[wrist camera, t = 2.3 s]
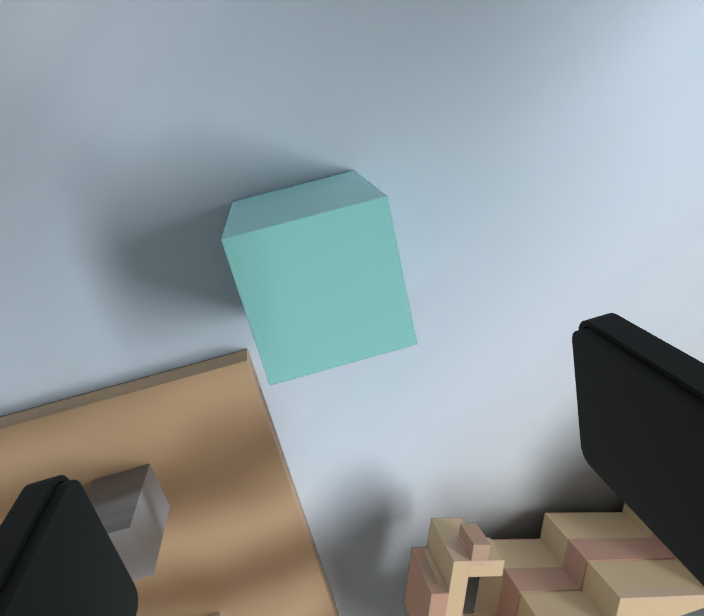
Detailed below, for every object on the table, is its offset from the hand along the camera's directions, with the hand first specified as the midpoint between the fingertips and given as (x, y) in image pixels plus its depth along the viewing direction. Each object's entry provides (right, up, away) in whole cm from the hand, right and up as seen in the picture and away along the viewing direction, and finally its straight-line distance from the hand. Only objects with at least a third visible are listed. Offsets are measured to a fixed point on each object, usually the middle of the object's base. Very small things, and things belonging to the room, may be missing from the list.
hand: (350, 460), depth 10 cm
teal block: (-2, +6, +13) cm, 15 cm away
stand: (-9, -11, +19) cm, 23 cm away
